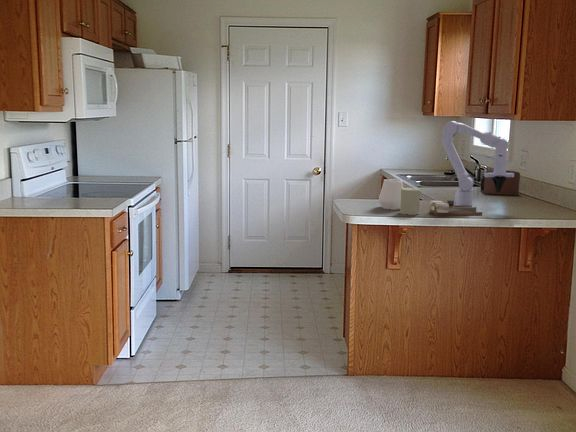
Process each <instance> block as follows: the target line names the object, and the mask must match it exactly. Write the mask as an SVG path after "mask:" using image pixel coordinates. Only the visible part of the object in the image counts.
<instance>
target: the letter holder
mask: <svg viewBox="0 0 576 432" xmlns="http://www.w3.org/2000/svg"><path fill="white" fill-rule="evenodd" d="M493 171H494V169H493V170H486V171H484V175H482V178H481V180H480V182H481V183H480V190H479V191H480V192H481V194H483V195H485V194H486V195H506V196H507V195H508V196H518V195H519V193H520V191H519V190H520V183H521V182H520V181H521V173H520V172H519V171H515V170H507V169H506V173H514V177H505V178H506V181H505V182H504V184H503V186H502V188H501V191H500V192H496V189H495V185H494V182H493V180H492V177H484V176H485V173H493ZM497 176H500V175H497Z"/></svg>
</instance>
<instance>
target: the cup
mask: <svg viewBox="0 0 576 432" xmlns="http://www.w3.org/2000/svg"><path fill="white" fill-rule="evenodd" d="M401 188H404V184H403V180H402V179H397V178H386V179H385V178H384V179H383V183H382V187H381V189H380V193H379V196H378V202H379V204H380V206H381V208H382V209H385V210H389V209H391V210H393V211H394V210H395V211H396V210H397V209H398V210H400V203H401ZM391 210H390V211H391Z"/></svg>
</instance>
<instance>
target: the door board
mask: <svg viewBox="0 0 576 432" xmlns="http://www.w3.org/2000/svg"><path fill="white" fill-rule="evenodd" d="M429 204H430V205H429V212H430V213H432V214H433V215H435V216H437V217H441V216H442V217H446V216H447V217H448V216H449V217H451V216H452V217H454V216H456V217H458V216H459V217H460V216H462V215H468V216H483V212H482V211H481V210H478V209H477V206H473V204H472V205H455V204H454V206H455V207H449V204H447V202H445V201H443V200H430V203H429ZM432 205H435V206H436V211H434V210H432Z"/></svg>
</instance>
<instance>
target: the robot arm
mask: <svg viewBox="0 0 576 432" xmlns="http://www.w3.org/2000/svg"><path fill="white" fill-rule="evenodd" d="M460 133H461V134H463V133H465V134H467V135H470V136H472V137H474V138H477V139H479V141H480V143H481V144H484V145H485V146H488V147H490V148H492V149H494V148H495V153H494V163H493V170H494V171H493V173H485V172H484V175H485V176H484V175H483V176H484V177H492V180H493V182H494V185H495V189H496V192H500V191H501V188H502V186H503V184H504V182H505V181H506V178H505V177H514V173H506V170H507V163H508V162H507V161H508V147H509V142H508V141H507V140H506V139H505V138H502V137H501V136H497V135H494V134H493V133H492V132H491V131H485V132H481V131H480V130H477V129H475V128H473V127H472V126H469V125H467V124H465V123H462V122H458V121H456V120H452V121H448V122H446V123H445V124H444V126H443V128H442V134H441V139H440V140H441V144H442V146H443V149H444V152H445V153H446V155H447V158H448V159H449V162H450V164H451V166H452V167H453V171H454V172H455V174H456V178H457V181H458V190H457V191H456V192H455V194H454V205H472V206H473V201H474V199H473V198H474V189H473V186H474V184H475V181H474V178H473V177H472V176H471V175H469V173H468V171H467V170H466V168H465V166H464V164H463V161H462V159H461V157H460V156H459V154H458V151H457V150H456V147H455V144H454V143H453V141H454V138H455V135H457V134H460ZM497 175H500V176H497Z"/></svg>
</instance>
